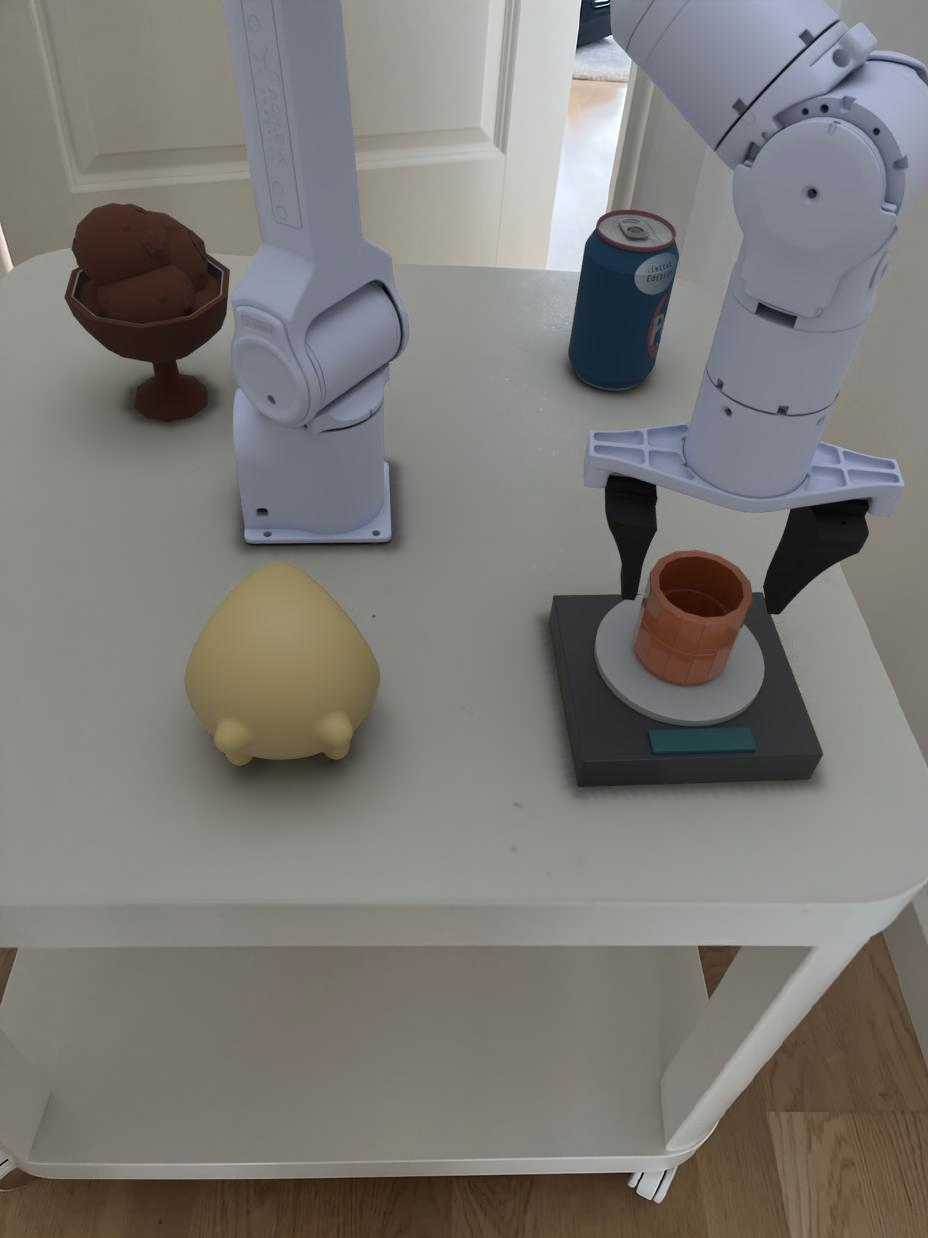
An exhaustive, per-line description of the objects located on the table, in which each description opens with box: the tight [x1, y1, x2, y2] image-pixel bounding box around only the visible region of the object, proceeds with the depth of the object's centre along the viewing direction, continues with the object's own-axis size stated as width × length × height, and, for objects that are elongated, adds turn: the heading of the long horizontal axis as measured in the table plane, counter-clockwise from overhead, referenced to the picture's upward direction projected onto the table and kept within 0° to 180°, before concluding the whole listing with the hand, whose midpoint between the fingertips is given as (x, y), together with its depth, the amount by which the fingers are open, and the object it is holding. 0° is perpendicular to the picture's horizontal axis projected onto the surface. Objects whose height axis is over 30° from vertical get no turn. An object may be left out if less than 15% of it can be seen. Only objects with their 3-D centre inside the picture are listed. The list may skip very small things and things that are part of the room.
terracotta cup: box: [633, 549, 753, 686], centre depth 55 cm, size 5×6×5 cm
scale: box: [548, 591, 824, 787], centre depth 57 cm, size 13×12×3 cm
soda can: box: [567, 209, 680, 392], centre depth 76 cm, size 7×7×12 cm
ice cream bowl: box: [64, 202, 231, 422], centre depth 69 cm, size 11×11×15 cm
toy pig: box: [183, 560, 381, 767], centre depth 53 cm, size 10×12×11 cm
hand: (699, 593), depth 53 cm, fingers open, 7 cm apart
